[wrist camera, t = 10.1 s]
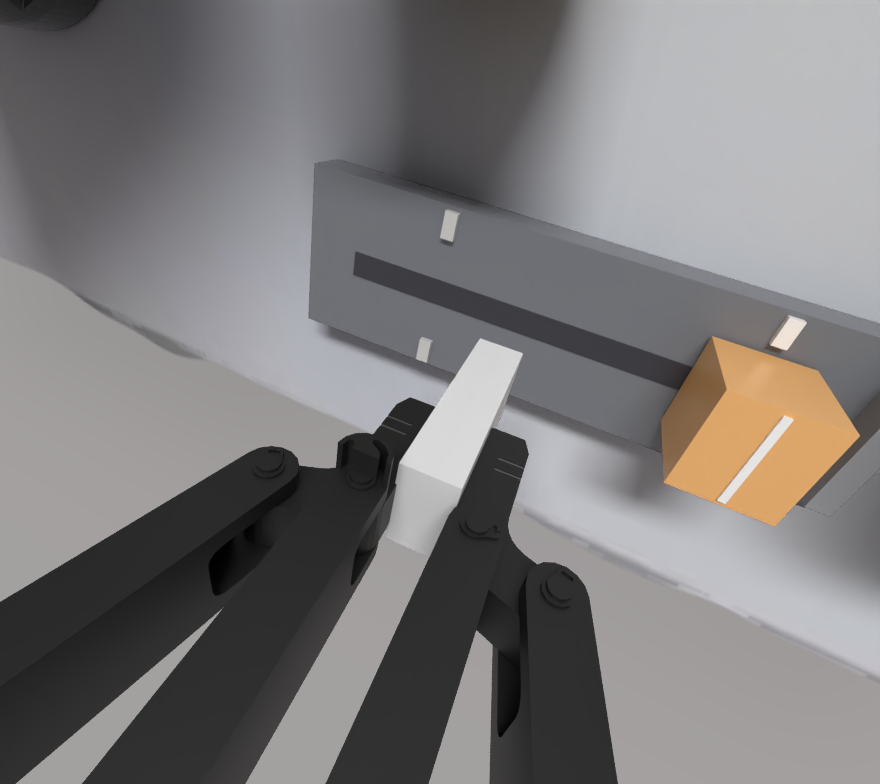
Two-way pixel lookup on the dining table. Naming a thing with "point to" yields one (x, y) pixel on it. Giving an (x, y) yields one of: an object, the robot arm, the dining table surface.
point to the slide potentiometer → (567, 311)
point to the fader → (752, 431)
